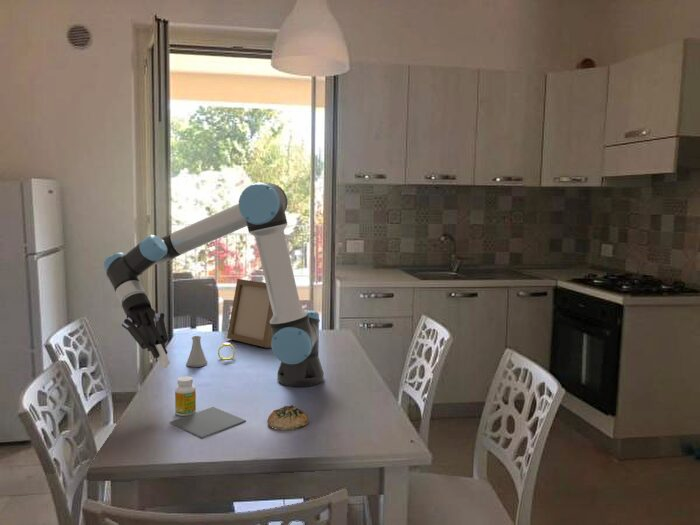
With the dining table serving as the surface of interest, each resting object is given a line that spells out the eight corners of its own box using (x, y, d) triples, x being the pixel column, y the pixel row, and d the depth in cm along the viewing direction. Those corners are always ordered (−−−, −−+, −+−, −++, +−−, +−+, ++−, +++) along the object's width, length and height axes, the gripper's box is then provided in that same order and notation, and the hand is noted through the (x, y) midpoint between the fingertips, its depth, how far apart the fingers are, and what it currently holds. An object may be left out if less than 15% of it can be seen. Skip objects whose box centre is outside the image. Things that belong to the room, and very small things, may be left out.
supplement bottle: (184, 418, 152) (184, 383, 151) (171, 413, 155) (170, 379, 154) (199, 411, 157) (199, 377, 156) (186, 407, 160) (185, 374, 159)
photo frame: (265, 349, 219) (266, 286, 216) (226, 340, 231) (227, 280, 228) (290, 342, 231) (291, 282, 228) (252, 334, 243) (253, 276, 240)
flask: (201, 368, 195) (201, 340, 194) (182, 366, 196) (181, 338, 195) (210, 362, 202) (210, 335, 201) (192, 360, 203) (191, 333, 202)
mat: (169, 423, 149) (169, 421, 149) (213, 408, 160) (213, 406, 160) (202, 438, 140) (202, 437, 140) (245, 421, 151) (245, 420, 151)
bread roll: (283, 411, 159) (285, 394, 158) (315, 425, 153) (317, 408, 152) (257, 426, 149) (259, 409, 148) (291, 441, 144) (293, 424, 143)
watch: (234, 358, 208) (235, 342, 208) (234, 360, 206) (235, 344, 205) (217, 358, 207) (218, 342, 206) (217, 360, 204) (218, 344, 203)
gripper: (148, 303, 175) (180, 367, 167) (108, 309, 165) (139, 378, 157) (158, 289, 171) (191, 354, 163) (117, 294, 161) (150, 363, 153)
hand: (165, 365), depth 160 cm, fingers closed
